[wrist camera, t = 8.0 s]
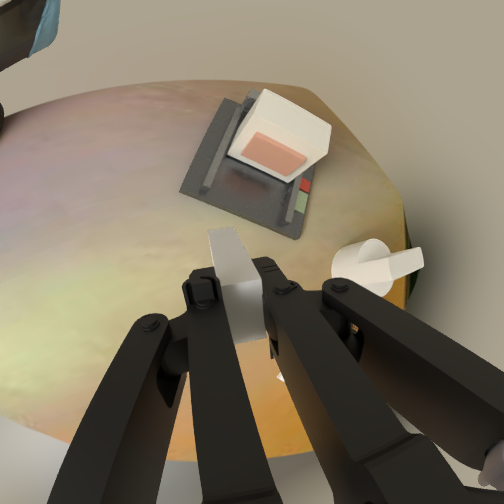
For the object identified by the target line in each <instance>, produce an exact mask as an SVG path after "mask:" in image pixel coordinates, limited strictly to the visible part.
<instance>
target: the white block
mask: <svg viewBox="0 0 504 504" xmlns="http://www.w3.org/2000/svg"><path fill="white" fill-rule="evenodd" d="M331 128H332V126H331V125H330V124H328V123H326V122H325V121H323V120H322V119H320V118H318V117H317V116H315V115H313V114H312V113H310V112H308V111H306V110H305V109H303V108H301V107H299V106H298V105H296V104H294V103H292V102H290V101H288V100H287V99H285V98H283V97H281V96H279V95H277V94H275V93H273V92H271V91H269V90H267V89H265V88H264V90H263V91H262V93H261V94H260V96H259V97H258V98H257V100H256V101H255V103H254V104H253V106H252V108H251V109H250V111H249V112H248V114H247V115H246V117H245V118H244V120H243V121H242V123H241V125H240V126H239V128H238V129H237V131H236V134H235V136H234V138H233V141H232V143H231V146H230V148H229V150H228V153H227V155H229V156H232V157H234V158H236V159H238V160H241V161H243V162H245V163H247V164H249V165H251V166H254V167H256V168H258V169H260V170H262V171H264V172H266V173H268V174H271V175H273V176H275V177H277V178H279V179H281V180H283V181H285V182H287V183H289V182H290V181H291V180H293V179H294V178H295V177H297V176H298V175H299V174H301V173H302V172H303V171H305V170H306V169H307V168H309V167H310V166H311V165H313V164H314V163H315V162H317V161H318V160H319V159H321V158H322V157H323V156H325V155H326V154H327V153H328V148H329V141H330V134H331Z"/></svg>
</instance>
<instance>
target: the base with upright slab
mask: <svg viewBox="0 0 504 504" xmlns="http://www.w3.org/2000/svg"><path fill="white" fill-rule="evenodd" d="M422 267H424V262H423V255H422V252H421V248H420V247H417V248H412V249H408V250H404V251H399V252H395V253H391V252H390V250H389V249H388V247H387V246H386V245H385V244H384V243H383V242H382V241H380V240H378V239H368V240H365V241H361V242H358V243H354V244H351V245H347V246H344V247H342V248H341V249H339V250H338V251H337V253H336V254H335V256H334V258H333V262H332V269H331V272H332V278H336V277H337V278H338V277H342V278H346V279H349V280H352V281H354V282H356V283H357V284H359V285H361V286H363V287H364V288H366V289H368V290H370V291H371V292H373V293H375V294H376V295H378V296H380V297H382V296H384V295H386V294H387V293H388V292H389V290H390V289H391V287H392V284H393V281H394V280H396V279H398V278H400V277H402V276H405V275H407V274H409V273H411V272H413V271H416V270H418V269H420V268H422Z"/></svg>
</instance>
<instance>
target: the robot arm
mask: <svg viewBox="0 0 504 504" xmlns="http://www.w3.org/2000/svg"><path fill="white" fill-rule="evenodd" d="M59 13H60V0H0V72H1V71H3V70H4V69H6V68H8V67H9V66H11V65H13V64H15V63H17V62H18V61H20V60H22V59H24V58H26V57H27V58H29V57H30V56H31V55H32V54H34V53H36V52H38V51H40V50H42V49H44V48H45V47H47V46H49V45H50V44H51V43H52V42H53V41H54V39H55V37H56V35H57V31H58V23H59ZM3 120H4V110H3V107H2V105H1V103H0V130H1V127H2V124H3ZM208 237H209V243H210V249H211V255H212V261H213V267H208V268H202V269H196V270H193V271H192V273H191V274H190V275H189V279H187V280H186V281H185V282H184V283H183V285H182V290H183V294H184V298H185V302H186V306H187V311H186V312H185V313H184V314H182V315H181V316H179V317H176V318H174V319H171V320H168V319H167V317H166V316H165V315H163V314H158V313H154V314H147V315H145V316H142V317H141V318H139V319H138V320H137V321H136V322H135V323H134V324H133V326H132V327H131V329H130V331H129V333H128V334H127V336H126V338H125V339H124V341H123V343H122V345H121V346H120V348H119V350H118V352H117V354H116V355H115V357H114V359H113V361H112V363H111V364H110V366H109V368H108V370H107V372H106V374H105V375H104V377H103V379H102V381H101V383H100V385H99V387H98V389H97V391H96V393H95V394H94V396H93V398H92V400H91V402H90V404H89V406H88V408H87V410H86V412H85V414H84V417H83V419H82V421H81V423H80V425H79V427H78V429H77V431H76V433H75V436H74V438H73V440H72V442H71V444H70V447H69V449H68V451H67V454H66V456H65V458H64V461H63V463H62V465H61V468H60V470H59V473H58V475H57V478H56V480H55V483H54V485H53V488H52V491H51V493H50V496H49V499H48V502H47V504H156V500H157V495H158V491H159V486H160V482H161V478H162V473H163V469H164V464H165V460H166V456H167V452H168V448H169V444H170V439H171V435H172V431H173V427H174V423H175V419H176V415H177V411H178V408H179V404H180V400H181V396H182V392H183V388H184V385H185V381H186V377H187V372H188V371H189V377H190V391H191V404H192V415H193V426H194V435H195V444H196V452H197V460H198V467H199V474H200V481H201V487H202V495H203V501H202V504H283V502H282V499H281V497H280V494H279V492H278V491H277V489H276V486H275V483H274V480H273V477H272V474H271V471H270V468H269V465H268V462H267V459H266V455H265V452H264V449H263V446H262V442H261V439H260V436H259V433H258V429H257V426H256V422H255V419H254V416H253V412H252V409H251V405H250V402H249V398H248V395H247V391H246V387H245V384H244V380H243V376H242V373H241V369H240V365H239V361H238V358H237V354H236V350H235V346H234V344H238V343H243V342H248V341H253V340H258V339H262V338H267V336H266V330H267V332H268V334H269V343H270V355H271V359H274V357H275V360H276V362H277V364H278V367H279V369H280V372H281V374H282V376H283V379H284V381H285V384H286V386H287V388H288V391H289V393H290V395H291V398H292V400H293V402H294V405H295V407H296V410H297V412H298V414H299V417H300V419H301V421H302V424H303V426H304V428H305V430H306V433H307V435H308V437H309V440H310V442H311V444H312V447H313V449H314V451H315V453H316V456H317V458H318V460H319V462H320V465H321V467H322V469H323V471H324V474H325V476H326V478H327V480H328V482H329V485H330V487H331V489H332V492H333V497H334V504H504V372H503V371H501V370H499V369H498V368H497V367H495V366H493V365H492V364H490V363H489V362H487V361H486V360H484V359H482V358H481V357H479V356H477V355H476V354H475V353H473V352H471V351H470V350H468V349H467V348H465V347H463V346H461V345H460V344H459V343H457V342H455V341H453V340H452V339H450V338H449V337H447V336H446V335H444V334H442V333H441V332H439V331H437V330H436V329H434V328H432V327H431V326H429V325H427V324H426V323H424V322H422V321H420V320H419V319H417V318H416V317H414V316H412V315H411V314H409V313H407V312H406V311H404V310H402V309H400V308H399V307H397V306H395V305H394V304H392V303H390V302H389V301H387V300H385V299H383V298H382V297H380V296H378V295H376V294H375V293H373V292H371V291H370V290H368V289H366V288H364V287H363V286H361V285H359V284H357V283H356V282H354V281H352V280H349V279H346V278H342V277H338V278H337V277H336V278H332V279H328V280H327V281H325V282H324V283H323V285H322V290H318V291H306V290H303V289H302V287H301V286H300V285H299V284H298V283H297V282H294V281H291V280H287V278H286V277H285V275H284V274H283V272H282V271H281V270H280V268H279V267H278V266H277V264H276V263H275V261H274V260H273V259H271V258H269V257H260V258H255V259H251V258H250V256H249V254H248V253H247V251H246V249H245V247H244V245H243V243H242V241H241V239H240V238H239V236H238V234H237V232H236V230H235V228H234V226H233V227H227V228H221V229H215V230H209V231H208ZM353 324H354V325H356V326H357V327H358V328H359V329H358V332H357V331H355V330H354V329H352V326H353ZM273 355H274V357H273ZM388 404H389V405H390V406H391V407H392V408H393V409H394V410H396V411H397V412H398V413H399V414H400V415H402V416H403V417H404V418H405V419H406V420H408V421H409V422H410V423H411V424H412V425H414V426H415V427H416V428H417V429H418V430H420V431H421V432H422V433H423V434H424V435H423V434H411V433H409V432H407V431H406V430H405V428H404V427H403V426H402V424H401V423H400V421H399V420H398V418H397V417H396V416H395V414H394V413H393V411H392V410H391V409H390V407H389V406H388ZM425 435H426V436H425ZM431 440H432V441H433V442H434V443H435V444H437V445H438V446H439V447H441V448H442V449H443V450H444V451H445V452H447V453H448V454H449V455H450V456H452V457H453V458H455V459H456V460H457V461H459V462H461V463H462V464H464V465H466V466H468V467H471V468H473V469H477V470H480V471H481V473H480V474H479V477H478V482H479V484H480V485H481V486H487V485H489V484H490V485H491V486H493V487H495V488H496V489H497V491H496V490H488V489H481V488H474V487H468V486H464V485H463V484H462V483H461V481H460V480H459V478H458V477H457V475H456V474H455V472H454V471H453V470H452V468H451V467H450V465H449V464H448V462H447V461H446V460H445V458H444V457H443V456H442V454H441V453H440V451H439V450H438V448H437V447H436V446H435V444H434V443H433V442H432V441H431Z"/></svg>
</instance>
